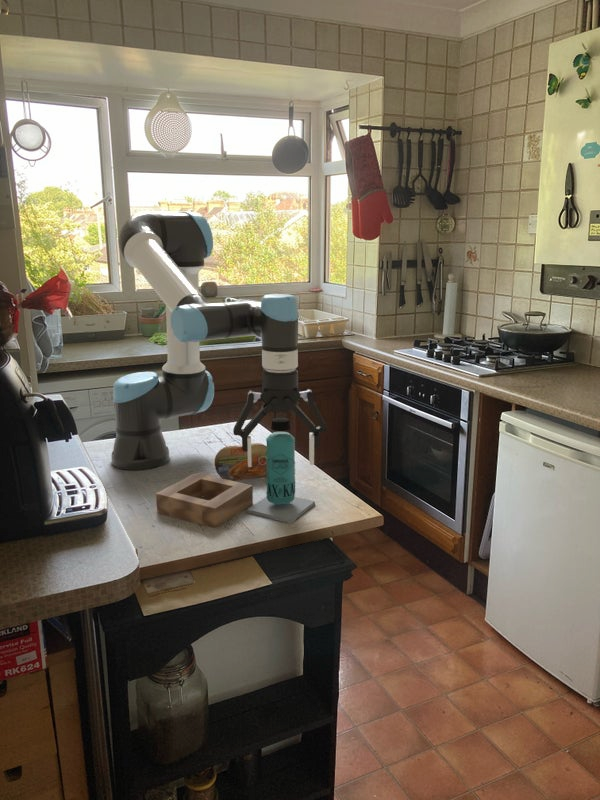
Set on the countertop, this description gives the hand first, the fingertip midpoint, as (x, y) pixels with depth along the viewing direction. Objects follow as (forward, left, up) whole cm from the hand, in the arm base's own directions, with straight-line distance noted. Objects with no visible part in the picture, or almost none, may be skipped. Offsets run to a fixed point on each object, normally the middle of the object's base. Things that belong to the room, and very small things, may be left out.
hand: (280, 463), depth 139 cm
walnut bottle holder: (-15, -8, -11) cm, 20 cm away
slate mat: (0, 0, -11) cm, 11 cm away
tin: (-18, +12, -11) cm, 24 cm away
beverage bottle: (0, 0, -10) cm, 10 cm away
